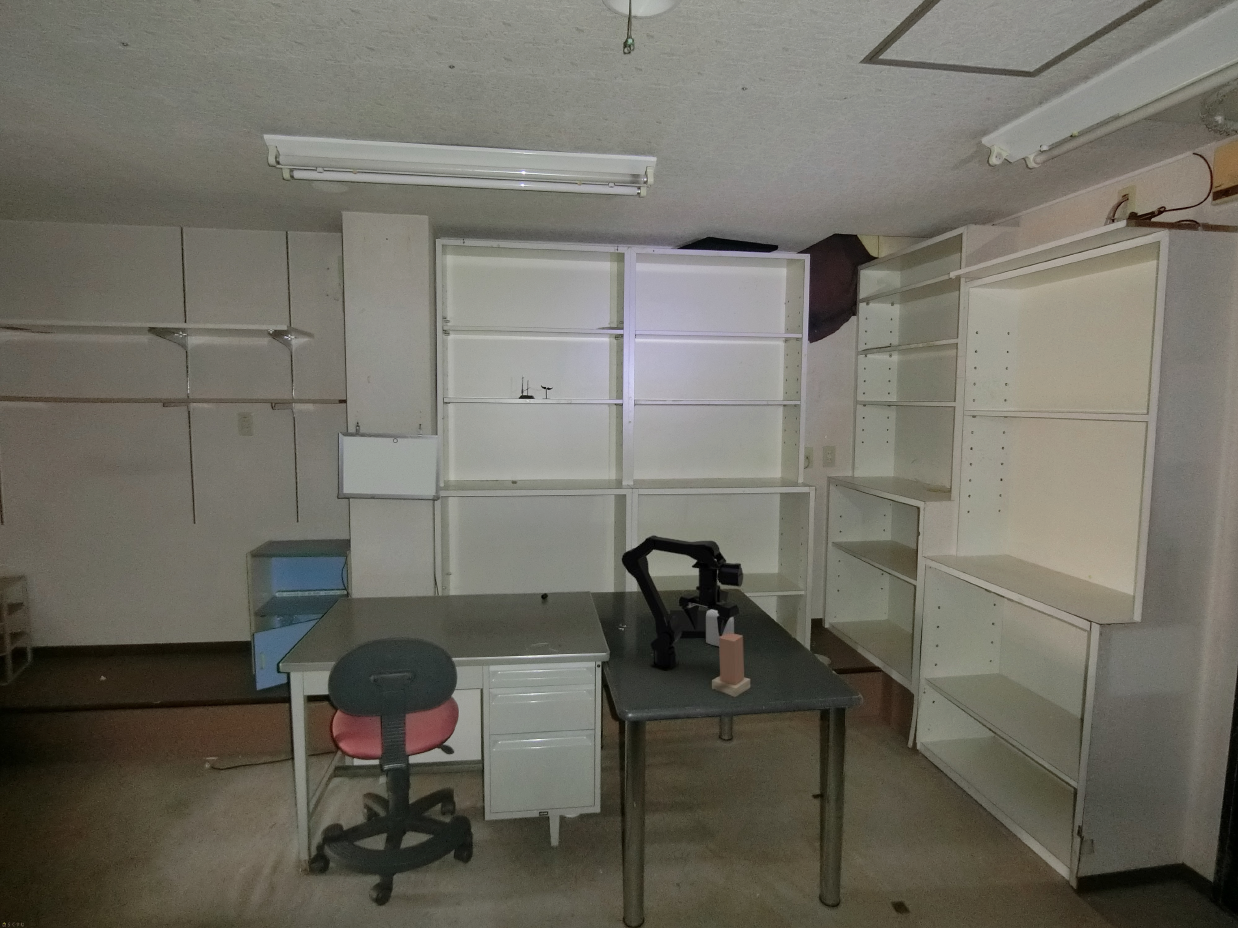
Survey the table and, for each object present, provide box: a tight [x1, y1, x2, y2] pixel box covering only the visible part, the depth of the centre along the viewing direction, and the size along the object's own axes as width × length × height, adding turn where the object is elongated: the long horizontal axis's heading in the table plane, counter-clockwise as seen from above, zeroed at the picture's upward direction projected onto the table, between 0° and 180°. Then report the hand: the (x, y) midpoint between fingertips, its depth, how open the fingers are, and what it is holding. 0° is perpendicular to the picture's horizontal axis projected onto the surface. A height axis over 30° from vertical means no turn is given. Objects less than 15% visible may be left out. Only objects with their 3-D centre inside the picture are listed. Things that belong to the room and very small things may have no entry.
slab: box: [711, 675, 751, 698], centre depth 185 cm, size 8×8×3 cm
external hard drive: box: [669, 609, 708, 640], centre depth 236 cm, size 14×23×3 cm, turn 177°
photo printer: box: [705, 609, 735, 647], centre depth 217 cm, size 10×4×12 cm, turn 47°
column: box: [718, 632, 745, 685], centre depth 184 cm, size 5×5×13 cm
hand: (708, 632), depth 194 cm, fingers open, 9 cm apart
